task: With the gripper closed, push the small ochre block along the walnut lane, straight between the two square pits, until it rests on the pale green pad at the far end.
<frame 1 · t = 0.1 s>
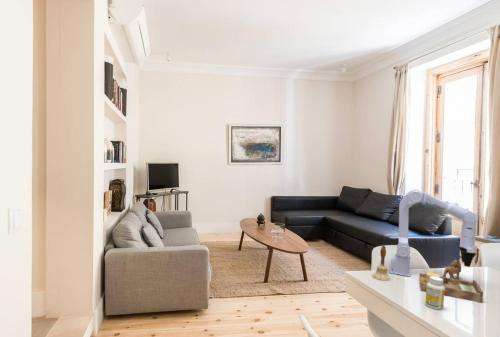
hand: (465, 264, 159), 10 cm above the table, tool pointing down, fingers open, 7 cm apart
hand bell: (381, 278, 162), on the table
supplement bottle: (434, 306, 132), on the table
ochre block: (432, 283, 153), point 2 cm above the table, touching walnut lane
walnut lane: (447, 290, 151), on the table
lion figurine: (451, 279, 167), on the table
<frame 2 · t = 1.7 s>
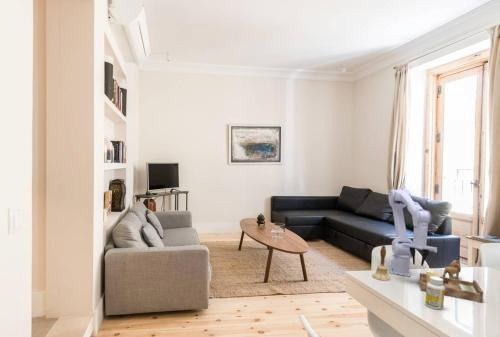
hand: (417, 264, 156), 9 cm above the table, tool pointing down, fingers open, 3 cm apart
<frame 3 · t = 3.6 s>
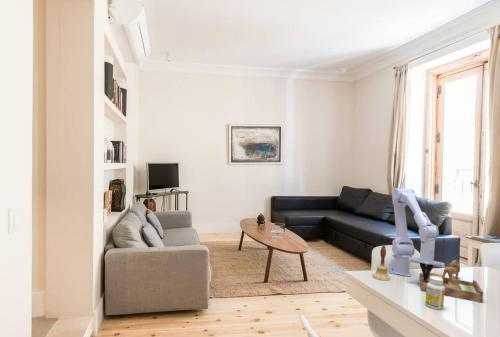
hand: (425, 280, 154), 3 cm above the table, tool pointing down, fingers closed
ochre block: (434, 283, 153), point 2 cm above the table, touching gripper
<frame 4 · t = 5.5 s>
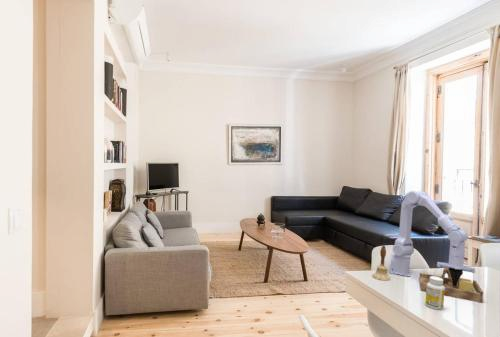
hand: (454, 285, 149), 3 cm above the table, tool pointing down, fingers closed
ochre block: (464, 289, 148), point 2 cm above the table, touching gripper, walnut lane
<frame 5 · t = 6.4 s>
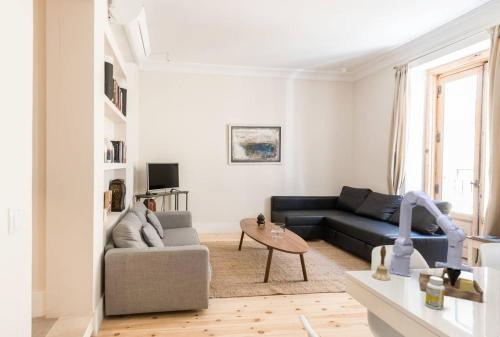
hand: (452, 285, 150), 3 cm above the table, tool pointing down, fingers closed
ochre block: (465, 289, 148), point 2 cm above the table, touching walnut lane
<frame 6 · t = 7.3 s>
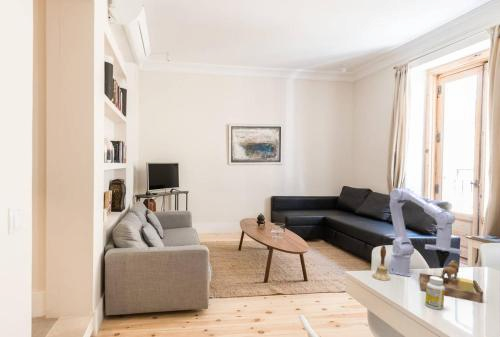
hand: (441, 266, 153), 10 cm above the table, tool pointing down, fingers closed
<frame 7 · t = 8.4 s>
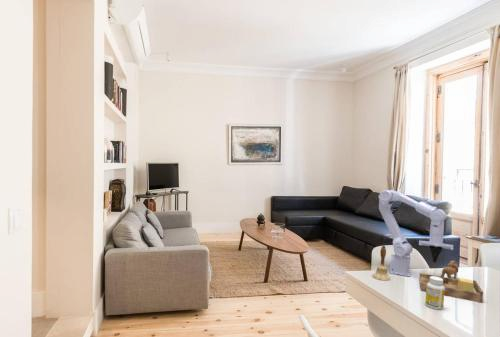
hand: (434, 261, 161), 10 cm above the table, tool pointing down, fingers closed
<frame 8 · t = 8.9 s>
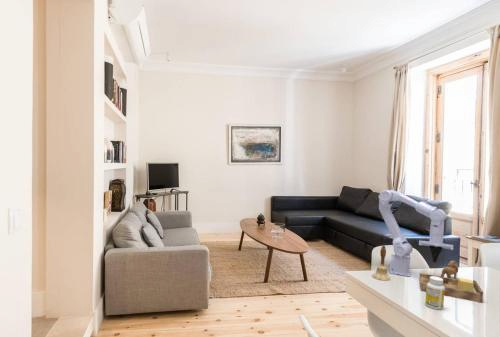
hand: (434, 261, 161), 10 cm above the table, tool pointing down, fingers closed
at the end: ochre block 0.1 cm from the target spot, point 2.0 cm above the table; ochre block tilted 1° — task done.
